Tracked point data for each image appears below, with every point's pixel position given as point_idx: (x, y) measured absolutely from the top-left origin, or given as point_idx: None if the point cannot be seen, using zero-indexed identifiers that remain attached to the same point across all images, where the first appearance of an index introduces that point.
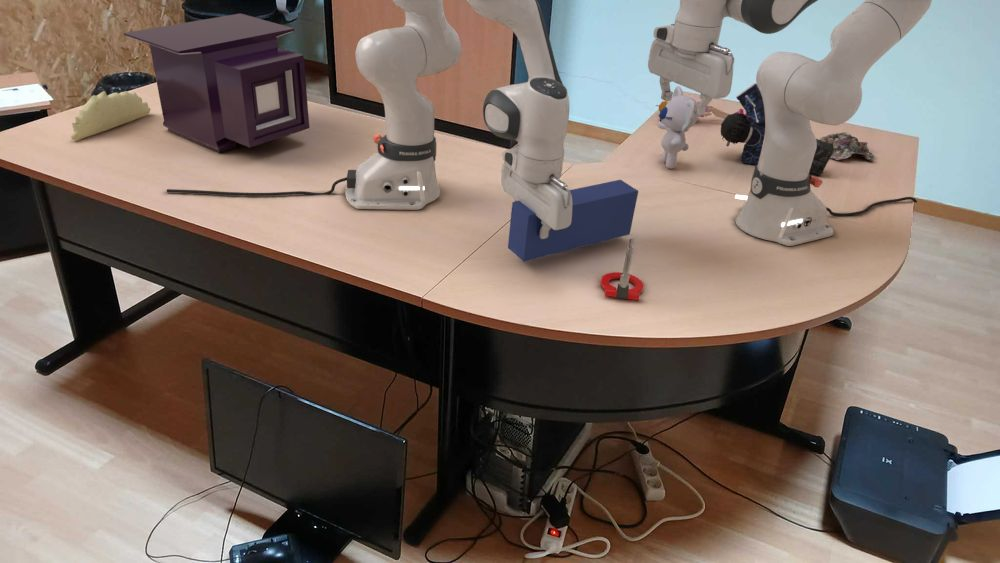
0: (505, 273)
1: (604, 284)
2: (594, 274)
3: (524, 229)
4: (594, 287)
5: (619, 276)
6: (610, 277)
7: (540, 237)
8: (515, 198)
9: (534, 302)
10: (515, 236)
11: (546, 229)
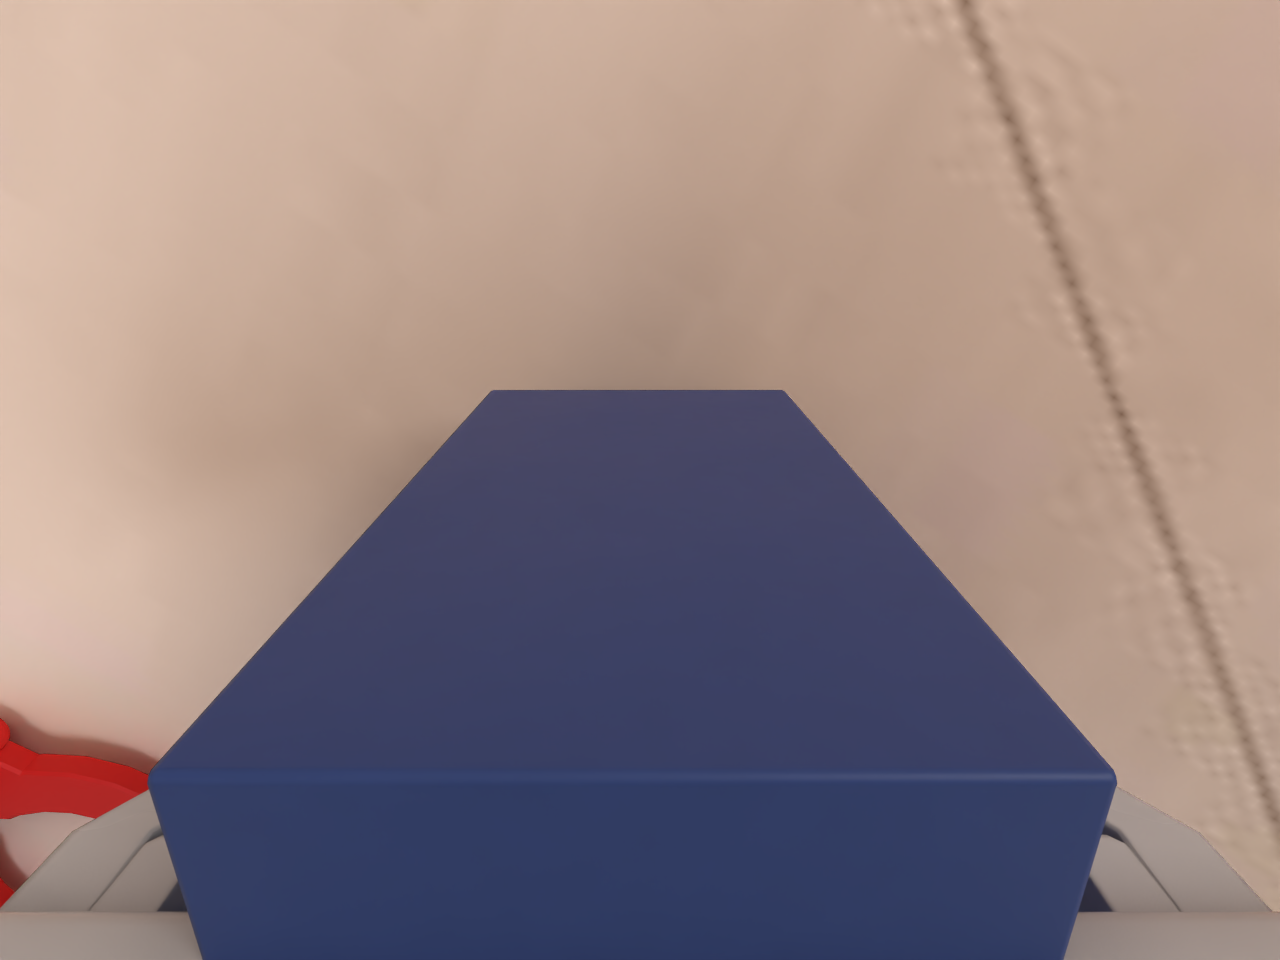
0: (554, 218)
1: (56, 779)
2: None
3: (439, 531)
4: (140, 714)
5: None
6: None
7: None
8: (1242, 941)
9: (22, 188)
10: (679, 447)
11: None
